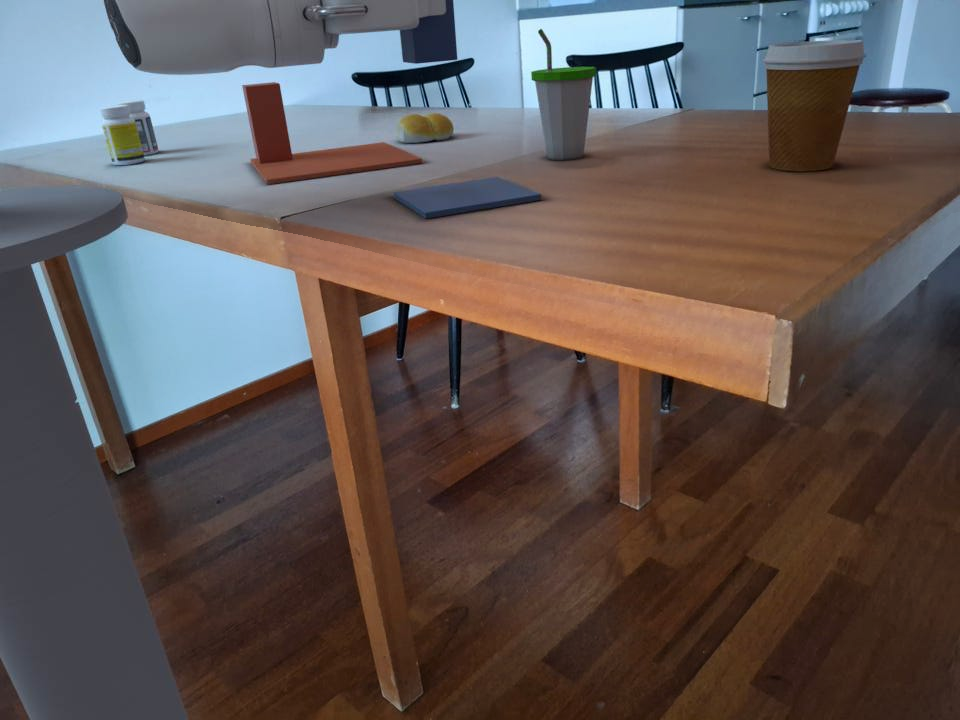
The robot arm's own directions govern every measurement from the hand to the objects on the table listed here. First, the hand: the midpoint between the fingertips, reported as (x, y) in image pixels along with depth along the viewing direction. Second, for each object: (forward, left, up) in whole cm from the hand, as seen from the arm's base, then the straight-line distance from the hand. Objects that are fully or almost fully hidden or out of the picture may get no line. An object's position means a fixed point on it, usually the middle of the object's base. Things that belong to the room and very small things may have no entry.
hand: (433, 5), depth 73 cm
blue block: (-1, 0, -5) cm, 5 cm away
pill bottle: (-33, +60, -18) cm, 71 cm away
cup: (+18, +6, -18) cm, 26 cm away
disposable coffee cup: (+34, -17, -18) cm, 42 cm away
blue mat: (-1, -8, -18) cm, 20 cm away
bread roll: (+9, +36, -18) cm, 42 cm away
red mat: (-8, +25, -18) cm, 32 cm away
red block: (-15, +31, -18) cm, 39 cm away
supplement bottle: (-35, +51, -18) cm, 65 cm away
